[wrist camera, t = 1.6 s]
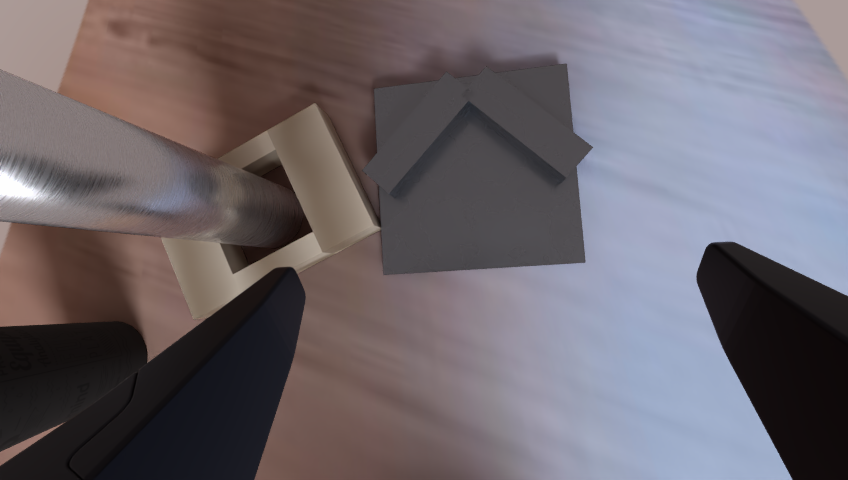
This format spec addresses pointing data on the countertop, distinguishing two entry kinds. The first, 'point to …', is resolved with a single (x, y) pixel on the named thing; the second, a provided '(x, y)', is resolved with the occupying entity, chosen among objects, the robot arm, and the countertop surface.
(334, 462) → the countertop surface
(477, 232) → the v block
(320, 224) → the beige rectangular frame
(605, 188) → the countertop surface
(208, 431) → the robot arm
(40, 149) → the axle
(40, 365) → the drinking cup
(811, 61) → the countertop surface
